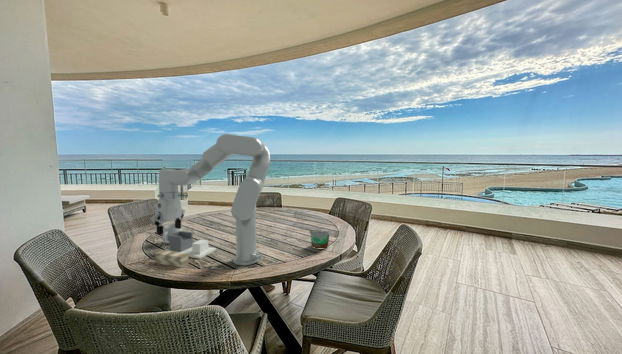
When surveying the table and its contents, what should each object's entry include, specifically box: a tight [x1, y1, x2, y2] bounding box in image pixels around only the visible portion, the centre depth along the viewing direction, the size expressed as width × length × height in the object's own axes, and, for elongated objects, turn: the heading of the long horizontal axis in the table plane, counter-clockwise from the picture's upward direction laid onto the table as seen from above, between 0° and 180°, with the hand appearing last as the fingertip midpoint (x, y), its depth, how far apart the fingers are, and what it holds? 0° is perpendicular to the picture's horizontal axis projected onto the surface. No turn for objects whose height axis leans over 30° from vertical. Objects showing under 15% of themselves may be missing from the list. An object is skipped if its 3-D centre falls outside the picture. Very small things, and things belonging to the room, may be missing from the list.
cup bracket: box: [165, 230, 217, 260], centre depth 125 cm, size 24×12×9 cm, turn 72°
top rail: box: [154, 249, 189, 268], centre depth 111 cm, size 16×4×5 cm, turn 72°
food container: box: [308, 228, 331, 249], centre depth 130 cm, size 12×6×10 cm, turn 76°
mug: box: [161, 223, 183, 245], centre depth 137 cm, size 13×9×10 cm
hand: (169, 231), depth 110 cm, fingers open, 9 cm apart
